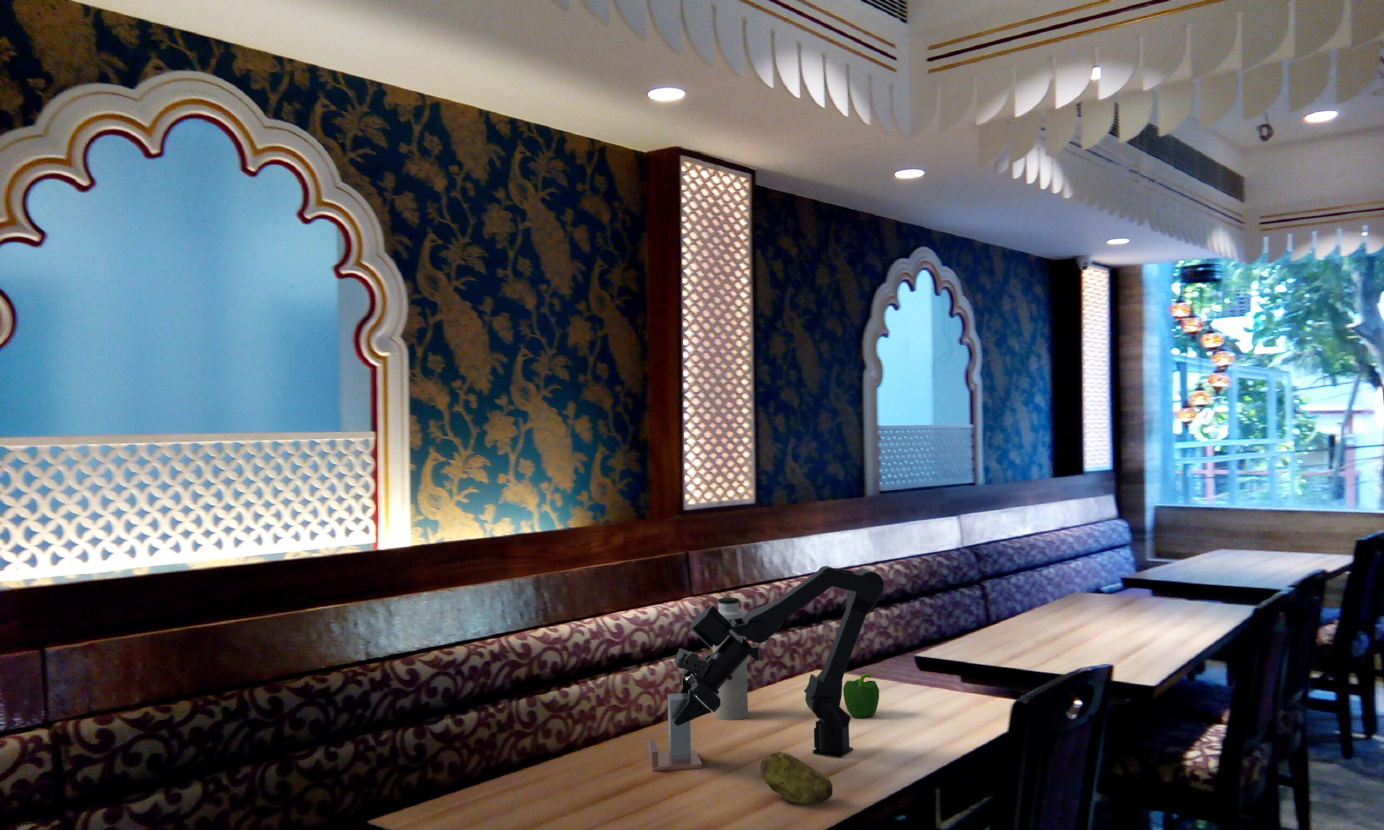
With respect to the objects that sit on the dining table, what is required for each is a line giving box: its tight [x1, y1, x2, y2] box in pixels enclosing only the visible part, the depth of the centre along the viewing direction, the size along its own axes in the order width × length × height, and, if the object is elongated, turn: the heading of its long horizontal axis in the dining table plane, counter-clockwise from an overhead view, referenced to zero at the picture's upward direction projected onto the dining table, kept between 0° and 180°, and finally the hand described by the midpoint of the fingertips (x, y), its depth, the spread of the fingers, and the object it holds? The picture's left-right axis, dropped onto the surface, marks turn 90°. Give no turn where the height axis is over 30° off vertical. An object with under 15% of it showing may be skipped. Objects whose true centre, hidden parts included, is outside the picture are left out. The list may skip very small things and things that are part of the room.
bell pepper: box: [842, 672, 880, 719], centre depth 240 cm, size 8×8×10 cm
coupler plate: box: [647, 737, 703, 772], centre depth 208 cm, size 10×10×4 cm
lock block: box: [667, 692, 692, 762], centre depth 209 cm, size 4×5×12 cm
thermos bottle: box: [712, 597, 749, 721], centre depth 243 cm, size 8×8×28 cm
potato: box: [759, 751, 833, 805], centre depth 184 cm, size 8×13×8 cm, turn 47°
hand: (673, 718), depth 208 cm, fingers open, 9 cm apart
